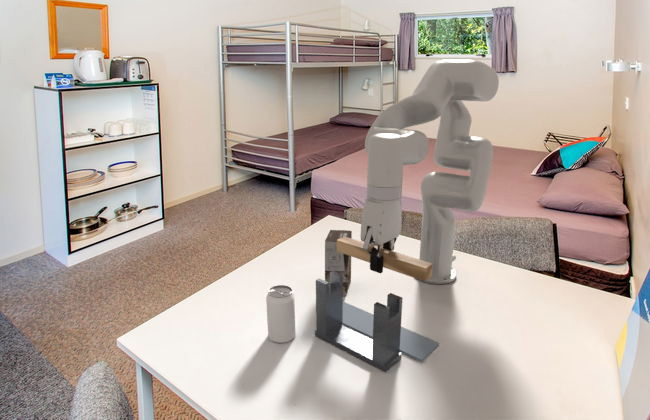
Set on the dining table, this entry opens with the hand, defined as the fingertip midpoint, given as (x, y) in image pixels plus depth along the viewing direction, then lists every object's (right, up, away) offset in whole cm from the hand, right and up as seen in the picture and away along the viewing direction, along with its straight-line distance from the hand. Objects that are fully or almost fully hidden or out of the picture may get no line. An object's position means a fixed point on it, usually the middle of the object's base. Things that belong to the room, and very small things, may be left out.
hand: (380, 267), depth 104 cm
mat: (0, -16, +6) cm, 17 cm away
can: (-23, -17, +4) cm, 29 cm away
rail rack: (-6, -18, -1) cm, 19 cm away
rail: (0, +1, 0) cm, 1 cm away
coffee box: (-9, -9, +26) cm, 29 cm away
